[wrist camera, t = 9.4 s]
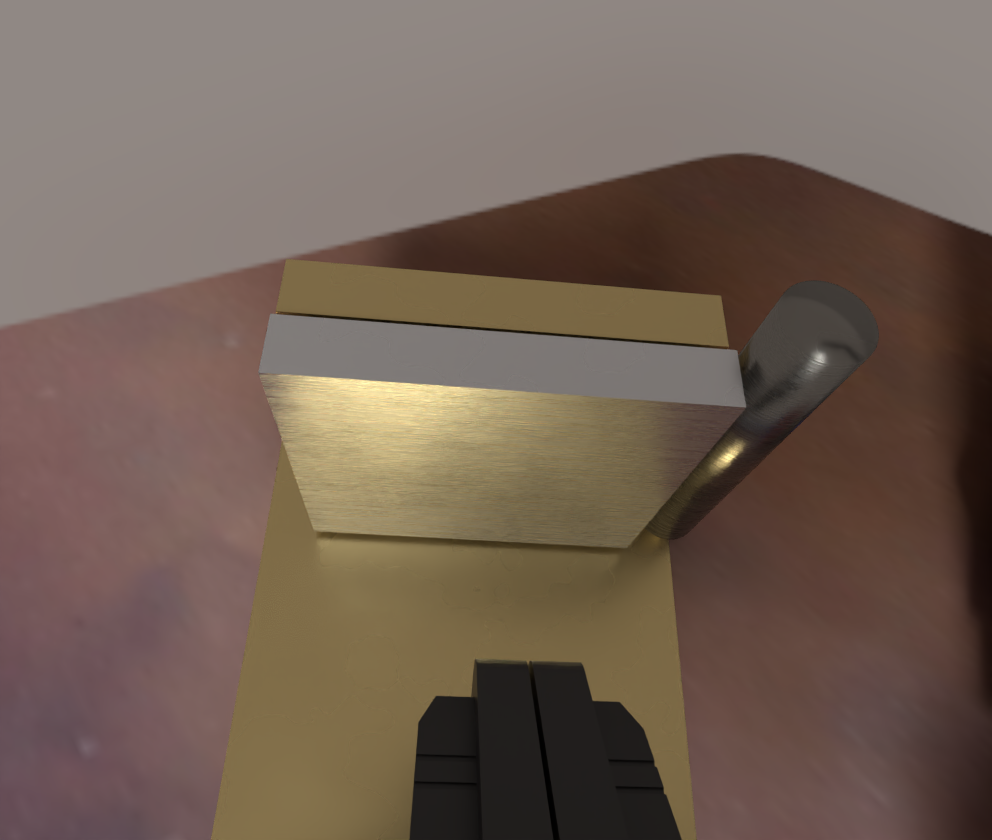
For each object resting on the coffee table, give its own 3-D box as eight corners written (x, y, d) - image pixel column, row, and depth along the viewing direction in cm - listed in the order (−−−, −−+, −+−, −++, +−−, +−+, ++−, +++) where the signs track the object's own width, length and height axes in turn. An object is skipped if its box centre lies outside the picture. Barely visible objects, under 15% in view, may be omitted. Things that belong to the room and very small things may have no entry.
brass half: (678, 420, 23) (840, 190, 14) (744, 1026, 16) (1142, 1292, 7) (294, 394, 22) (220, 129, 13) (184, 1027, 15) (-126, 1334, 6)
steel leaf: (623, 506, 20) (737, 350, 13) (626, 548, 20) (746, 407, 13) (320, 488, 20) (270, 313, 13) (314, 531, 19) (258, 372, 12)
